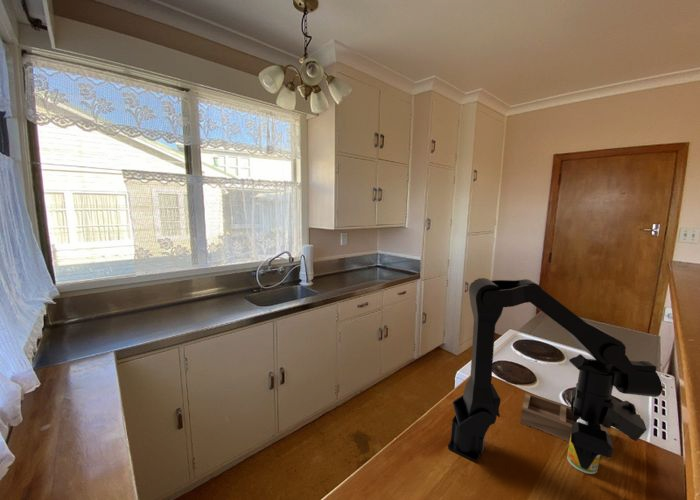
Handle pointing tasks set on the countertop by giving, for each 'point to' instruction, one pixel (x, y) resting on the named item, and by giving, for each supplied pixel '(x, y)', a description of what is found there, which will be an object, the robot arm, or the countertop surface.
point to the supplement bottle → (575, 462)
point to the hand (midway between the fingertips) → (583, 453)
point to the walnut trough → (548, 416)
